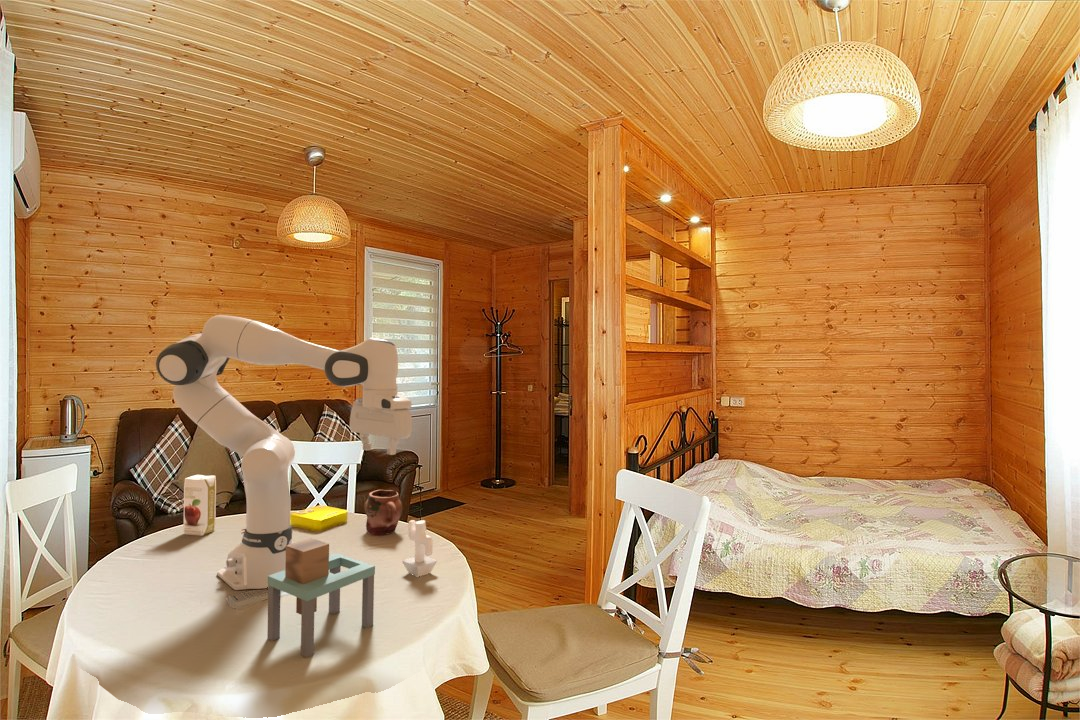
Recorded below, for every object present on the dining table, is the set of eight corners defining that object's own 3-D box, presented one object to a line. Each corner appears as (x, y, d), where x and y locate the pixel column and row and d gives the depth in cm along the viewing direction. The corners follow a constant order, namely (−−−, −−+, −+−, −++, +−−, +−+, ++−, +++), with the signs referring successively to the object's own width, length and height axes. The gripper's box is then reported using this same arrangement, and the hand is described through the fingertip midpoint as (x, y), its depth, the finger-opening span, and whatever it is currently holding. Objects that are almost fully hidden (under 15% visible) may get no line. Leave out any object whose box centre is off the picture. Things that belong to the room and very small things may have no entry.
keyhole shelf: (335, 609, 145) (336, 552, 145) (373, 625, 138) (374, 565, 137) (266, 638, 130) (267, 575, 130) (305, 658, 122) (307, 591, 122)
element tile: (317, 533, 203) (317, 519, 203) (287, 526, 210) (287, 512, 210) (349, 522, 217) (350, 509, 216) (320, 515, 223) (320, 503, 223)
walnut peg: (284, 613, 129) (285, 545, 129) (310, 603, 135) (311, 538, 134) (302, 621, 126) (303, 551, 126) (327, 610, 131) (329, 543, 131)
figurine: (419, 581, 164) (420, 527, 163) (399, 572, 170) (400, 520, 169) (439, 574, 169) (441, 522, 169) (419, 565, 175) (420, 515, 175)
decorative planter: (413, 537, 201) (414, 496, 200) (381, 544, 193) (381, 502, 192) (385, 522, 216) (386, 485, 215) (354, 529, 207) (354, 489, 207)
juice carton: (196, 528, 204) (196, 473, 203) (218, 529, 203) (219, 475, 202) (179, 535, 196) (180, 478, 196) (203, 536, 195) (204, 479, 195)
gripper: (344, 397, 158) (343, 449, 158) (397, 403, 147) (396, 458, 147) (363, 396, 163) (362, 446, 164) (416, 401, 152) (415, 455, 152)
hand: (378, 452), depth 155 cm, fingers open, 8 cm apart
